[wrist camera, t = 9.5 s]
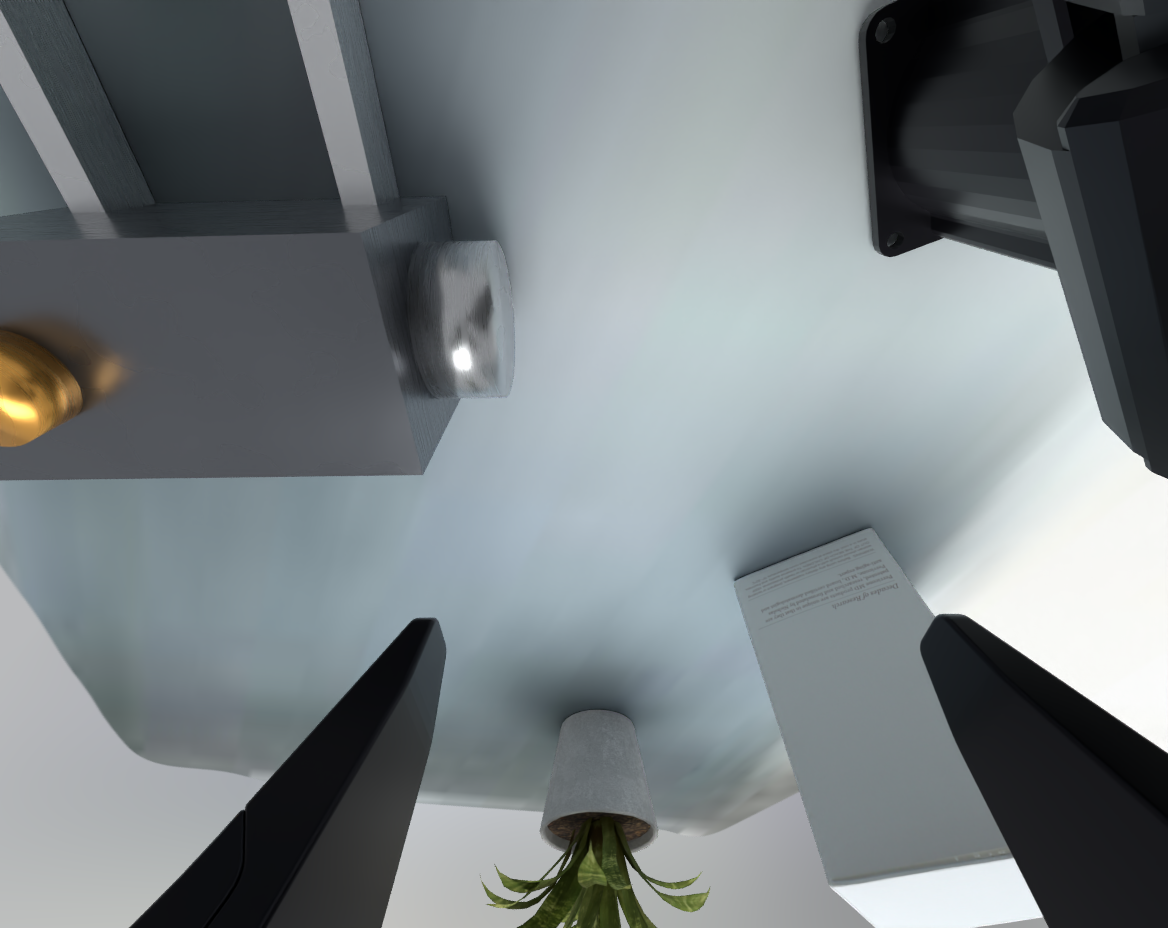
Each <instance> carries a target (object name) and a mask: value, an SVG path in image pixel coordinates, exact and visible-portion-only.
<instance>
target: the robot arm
mask: <svg viewBox="0 0 1168 928" xmlns="http://www.w3.org/2000/svg"><path fill="white" fill-rule="evenodd" d="M882 20H883V21H885V22H886V23H887V25H888V33H887V36H886V38H885V39H884V41H883V42H882V43H880V42H878V41H877V40H876V37H875V33H876V28H877V26H878V25H879V23H880V22H881V21H882ZM859 54H860V68H861V82H862V96H863V110H864V124H865V138H866V152H867V166H868V180H869V194H870V208H871V222H872V235H873V246H874V249H875V250H876V251H877V252H878V253H879V254H881V255H884V256H888V257H893V256H897V255H900V254H903V253H905V252H908V251H910V250H913V249H916V248H918V247H921V246H924V245H926V244H929V243H932V242H934V241H937V240H940V239H942V238H946V239H950V240H953V241H957V242H960V243H964V244H967V245H970V246H974V247H977V248H981V249H984V250H988V251H991V252H994V253H998V254H1001V255H1005V256H1008V257H1012V258H1015V259H1019V260H1022V261H1025V262H1029V263H1032V264H1036V265H1039V266H1043V267H1046V268H1049V269H1053V270H1056V271H1058V275H1059V278H1060V281H1061V285H1062V288H1063V291H1064V295H1065V298H1066V301H1067V304H1068V308H1069V311H1070V314H1071V318H1072V321H1073V324H1074V328H1075V331H1076V334H1077V338H1078V341H1079V344H1080V348H1081V351H1082V354H1083V358H1084V361H1085V364H1086V367H1087V371H1088V374H1089V377H1090V381H1091V384H1092V387H1093V391H1094V394H1095V397H1096V401H1097V404H1098V407H1099V411H1100V414H1101V417H1102V420H1103V422H1104V423H1105V424H1106V425H1107V426H1108V427H1109V428H1110V429H1111V430H1112V431H1113V432H1114V433H1115V434H1116V435H1117V436H1118V437H1119V438H1120V439H1121V440H1122V441H1123V442H1124V443H1125V444H1126V445H1127V446H1128V447H1129V448H1130V449H1131V450H1132V451H1133V452H1135V453H1137V454H1138V455H1140V456H1142V457H1143V458H1144V462H1145V466H1146V467H1147V468H1148V469H1149V470H1150V471H1151V472H1153V473H1155V474H1158V475H1160V476H1162V477H1165V478H1167V479H1168V0H896V1H894V2H892V3H890V4H888V5H886V6H884V7H882V8H880V9H878V10H876V11H875V12H873V13H872V14H871V15H869V17H868V18H867V19H866V21H865V22H864V23H863V26H862V28H861V31H860V33H859ZM895 232H897V235H898V236H897V240H896V241H895V243H894V244H892V245H891V246H888V245H887V241H888V238H889V237H890V236H891V235H892V234H893V233H895ZM920 652H921V656H922V659H923V662H924V664H925V667H926V669H927V672H928V674H929V677H930V679H931V682H932V685H933V687H934V690H935V692H936V695H937V697H938V700H939V703H940V705H941V708H942V710H943V713H944V715H945V718H946V720H947V723H948V726H949V728H950V730H951V733H952V735H953V737H954V740H955V742H956V744H957V746H958V748H959V750H960V753H961V755H962V757H963V759H964V761H965V763H966V765H967V767H968V769H969V771H970V773H971V775H972V777H973V778H974V780H975V782H976V784H977V786H978V788H979V790H980V792H981V794H982V796H983V798H984V800H985V802H986V804H987V806H988V808H989V810H990V812H991V814H992V816H993V818H994V820H995V822H996V824H997V826H998V828H999V830H1000V832H1001V834H1002V836H1003V838H1004V840H1005V842H1006V844H1007V846H1008V848H1009V850H1010V852H1011V854H1012V856H1013V858H1014V860H1015V862H1016V864H1017V866H1018V868H1019V870H1020V872H1021V874H1022V876H1023V878H1024V880H1025V882H1026V884H1027V886H1028V888H1029V890H1030V892H1031V893H1032V895H1033V897H1034V899H1035V901H1036V903H1037V905H1038V907H1039V909H1040V911H1041V913H1042V915H1043V917H1044V919H1045V921H1046V923H1047V925H1048V927H1049V928H1168V753H1167V752H1165V751H1164V750H1162V749H1161V748H1159V747H1158V746H1157V745H1155V744H1154V743H1152V742H1151V741H1149V740H1148V739H1146V738H1145V737H1143V736H1142V735H1140V734H1139V733H1138V732H1136V731H1135V730H1133V729H1132V728H1130V727H1129V726H1127V725H1126V724H1124V723H1123V722H1121V721H1120V720H1118V719H1117V718H1116V717H1114V716H1113V715H1111V714H1110V713H1108V712H1107V711H1105V710H1104V709H1102V708H1101V707H1099V706H1098V705H1097V704H1095V703H1094V702H1092V701H1091V700H1089V699H1088V698H1086V697H1085V696H1083V695H1082V694H1080V693H1079V692H1077V691H1076V690H1075V689H1073V688H1072V687H1070V686H1069V685H1067V684H1066V683H1064V682H1063V681H1061V680H1060V679H1058V678H1057V677H1055V676H1054V675H1053V674H1051V673H1050V672H1048V671H1047V670H1045V669H1044V668H1042V667H1041V666H1039V665H1038V664H1036V663H1035V662H1034V661H1032V660H1031V659H1029V658H1028V657H1026V656H1025V655H1023V654H1022V653H1020V652H1019V651H1017V650H1016V649H1014V648H1013V647H1012V646H1010V645H1009V644H1007V643H1006V642H1004V641H1003V640H1001V639H1000V638H998V637H997V636H995V635H994V634H993V633H991V632H990V631H988V630H987V629H985V628H984V627H982V626H981V625H979V624H978V623H976V622H975V621H973V620H972V619H970V618H969V617H967V616H965V615H962V614H939V615H937V616H936V617H935V618H934V619H933V621H932V623H931V624H930V626H929V628H928V629H927V631H926V633H925V635H924V636H923V638H922V640H921V642H920ZM445 659H446V644H445V641H444V637H443V634H442V631H441V627H440V624H439V621H438V620H437V619H436V618H415V619H414V620H412V621H411V622H410V623H409V624H408V625H407V626H406V628H405V629H404V630H403V631H402V632H401V633H400V634H399V635H398V636H397V638H396V639H395V640H394V641H393V642H392V643H391V644H390V645H389V646H388V648H387V649H386V650H385V651H384V652H383V653H382V654H381V655H380V656H379V658H378V659H377V660H376V661H375V662H374V663H373V664H372V665H371V666H370V668H369V669H368V670H367V671H366V672H365V673H364V674H363V675H362V676H361V678H360V679H359V680H358V681H357V682H356V683H355V684H354V685H353V686H352V688H351V689H350V690H349V691H348V692H347V693H346V694H345V695H344V696H343V698H342V699H341V700H340V701H339V702H338V703H337V704H336V705H335V706H334V708H333V709H332V710H331V711H330V712H329V713H328V714H327V715H326V716H325V718H324V719H323V720H322V721H321V722H320V723H319V724H318V725H317V726H316V728H315V729H314V730H313V731H312V732H311V733H310V734H309V735H308V736H307V738H306V739H305V740H304V741H303V742H302V743H301V744H300V745H299V747H298V748H297V749H296V750H295V751H294V752H293V753H292V754H291V755H290V757H289V758H288V759H287V760H286V761H285V762H284V763H283V764H282V765H281V767H280V768H279V769H278V770H277V771H276V772H275V773H274V774H273V775H272V777H271V778H270V779H269V780H268V781H267V782H266V783H265V784H264V785H263V787H262V788H261V789H260V790H259V791H258V792H257V793H256V794H255V795H254V797H253V798H252V799H251V800H250V801H249V802H248V803H247V804H246V807H245V810H241V811H240V812H239V813H238V814H237V815H236V816H235V818H234V819H233V820H232V821H231V822H230V823H229V824H228V825H227V826H226V828H225V829H224V830H223V831H222V832H221V833H220V834H219V835H218V836H217V837H216V838H215V840H214V841H213V842H212V843H211V844H210V845H209V846H208V847H207V848H206V849H205V850H204V851H203V852H202V853H201V855H200V856H199V857H198V858H197V859H196V860H195V861H194V862H193V863H192V864H191V865H190V866H189V868H188V869H187V870H186V871H185V872H184V873H183V874H182V875H181V876H180V877H179V878H178V879H177V880H176V881H175V882H174V883H173V884H172V885H171V886H170V887H169V888H168V889H167V890H166V891H165V892H164V893H163V894H162V895H161V896H160V897H159V898H158V899H157V900H156V901H155V902H154V903H153V904H152V905H151V906H150V907H149V909H147V910H146V911H145V912H144V914H143V915H141V916H140V917H139V918H138V919H137V920H136V921H135V923H134V924H132V925H131V926H130V927H129V928H381V927H382V923H383V920H384V916H385V913H386V909H387V905H388V902H389V898H390V894H391V891H392V887H393V883H394V880H395V876H396V872H397V869H398V865H399V861H400V858H401V854H402V850H403V847H404V843H405V839H406V835H407V832H408V829H409V825H410V821H411V817H412V814H413V810H414V806H415V803H416V799H417V796H418V792H419V788H420V785H421V781H422V777H423V774H424V770H425V766H426V763H427V759H428V755H429V751H430V747H431V743H432V738H433V732H434V727H435V721H436V714H437V708H438V702H439V696H440V690H441V684H442V678H443V672H444V665H445Z"/></svg>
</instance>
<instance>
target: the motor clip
mask: <svg viewBox="0 0 1168 928" xmlns="http://www.w3.org/2000/svg"><path fill="white" fill-rule="evenodd" d="M287 1H288V5H289V8H290V12H291V16H292V20H293V23H294V27H295V31H296V34H297V38H298V42H299V46H300V49H301V53H302V57H303V60H304V64H305V68H306V72H307V75H308V79H309V83H310V86H311V90H312V94H313V98H314V101H315V105H316V109H317V112H318V116H319V120H320V124H321V127H322V131H323V135H324V138H325V142H326V146H327V150H328V153H329V157H330V161H331V164H332V168H333V172H334V176H335V179H336V183H337V187H338V190H339V194H340V198H341V199H315V200H276V201H237V202H198V203H159V204H156V203H155V200H154V198H153V196H152V194H151V192H150V190H149V187H148V185H147V183H146V181H145V179H144V177H143V174H142V172H141V170H140V168H139V166H138V164H137V161H136V159H135V157H134V155H133V153H132V151H131V148H130V146H129V144H128V142H127V140H126V137H125V135H124V133H123V131H122V129H121V127H120V124H119V122H118V120H117V118H116V116H115V114H114V111H113V109H112V107H111V105H110V103H109V101H108V98H107V96H106V94H105V92H104V90H103V88H102V85H101V83H100V81H99V79H98V77H97V75H96V72H95V70H94V68H93V66H92V64H91V62H90V59H89V57H88V55H87V53H86V51H85V48H84V46H83V44H82V42H81V40H80V38H79V35H78V33H77V31H76V29H75V27H74V25H73V22H72V20H71V18H70V16H69V14H68V12H67V9H66V7H65V5H64V3H63V1H62V0H0V84H1V86H2V88H3V89H4V91H5V93H6V95H7V97H8V98H9V100H10V102H11V104H12V106H13V108H14V109H15V111H16V113H17V115H18V117H19V118H20V120H21V122H22V124H23V126H24V127H25V129H26V131H27V133H28V135H29V136H30V138H31V140H32V142H33V144H34V146H35V147H36V149H37V151H38V153H39V155H40V156H41V158H42V160H43V162H44V164H45V165H46V167H47V169H48V171H49V173H50V174H51V176H52V178H53V180H54V182H55V184H56V185H57V187H58V189H59V191H60V193H61V194H62V196H63V198H64V200H65V202H66V203H67V205H68V207H67V208H59V209H52V210H45V211H38V212H31V213H23V214H16V215H9V216H2V217H0V480H65V479H142V478H220V477H297V476H375V475H423V474H424V472H425V470H426V468H427V465H428V463H429V461H430V459H431V457H432V455H433V453H434V451H435V449H436V447H437V445H438V443H439V441H440V439H441V437H442V435H443V433H444V431H445V429H446V427H447V425H448V423H449V421H450V419H451V417H452V415H453V413H454V411H455V409H456V407H457V405H458V403H459V400H460V398H504V397H508V395H509V394H510V391H511V387H512V382H513V375H514V363H515V328H514V312H513V301H512V292H511V285H510V279H509V273H508V268H507V264H506V260H505V256H504V253H503V250H502V248H501V246H500V244H499V242H498V241H495V240H492V241H453V237H452V231H451V225H450V218H449V212H448V206H447V200H446V196H432V197H399V192H398V187H397V182H396V178H395V173H394V168H393V163H392V159H391V154H390V149H389V144H388V139H387V135H386V130H385V125H384V120H383V115H382V111H381V106H380V101H379V96H378V91H377V87H376V82H375V77H374V72H373V68H372V63H371V58H370V53H369V48H368V44H367V39H366V34H365V29H364V24H363V20H362V15H361V10H360V5H359V1H358V0H287Z"/></svg>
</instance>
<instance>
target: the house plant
mask: <svg viewBox="0 0 1168 928" xmlns="http://www.w3.org/2000/svg"><path fill="white" fill-rule="evenodd" d="M540 834H541V837H542V839H543V840H544V841H545V843H546V844H547V845H549V846H551V847H553V848H554V849H557V850H559V851H563V852H565V853H564V854H563V855H562V856H561V857H560V859H559V860H558V861H557V862H556V863H555V864H554V865H553V867H552V868H551V869H550V870H549V871H548V872H547V873H546V874H545V875H544V876H543V877H542V878H541V879H540V880H539V881H525V880H517V879H510V878H509V877H507V876H505V875H504V874H502V873H500V872H499V870H498V869H497V867H496V866H495V867H496V869H497V872H498V874H499V877H500V879H501V881H502V883H503V885H504V887H506V888H508V889H509V890H511V891H514V892H519V893H527V892H528V893H527V894H526V895H525V896H524V897H523V898H525V897H526V896H527V895H529V894H530V893H531V892H533V891H536V890H540V889H542V888H545V887H547V886H549V887H548V888H547V889H546V890H545V891H544V892H543V893H542V894H541V895H539V896H538V897H536V898H534V899H532V900H530V901H528V902H518V901H520V900H522V899H523V898H522V899H520V900H518V901H517V902H516V901H510V900H506V899H503V898H501V897H498V896H496V895H495V894H493V893H492V892H490V891H489V890H488V889H487V888H486V886H485V885H484V884H483V882H482V884H483V886H484V889H485V891H486V893H487V895H488V897H489V898H490V899H491V900H492V901H493V902H494V903H496V904H487V905H490V906H494V907H497V908H507V909H525V908H528V907H530V906H532V905H534V904H537V903H538V902H539V901H540V900H541V899H542V898H543V897H544V896H546V895H547V894H548V893H549V892H550V891H551V890H552V891H551V892H550V894H549V895H548V896H547V898H546V899H545V901H544V902H543V904H542V905H541V907H540V908H539V910H538V911H537V912H536V914H535V915H534V916H533V917H532V918H530V919H529V920H528V921H527V922H525V923H524V924H523V925H521V926H519V927H517V928H556V927H557V926H558V925H559V924H560V923H561V922H565V925H564V927H563V928H621V924H620V917H619V910H618V901H617V897H618V899H619V903H620V905H621V908H622V910H623V913H624V915H625V917H626V920H627V922H628V924H629V926H630V928H657V927H656V926H655V925H654V924H653V923H652V922H651V921H650V920H649V918H648V917H647V916H646V915H645V914H644V912H643V910H642V908H641V906H640V904H639V903H638V900H637V899H636V897H635V894H634V892H633V889H632V886H631V882H630V878H629V875H628V871H627V866H626V861H625V857H626V859H627V860H628V861H629V863H630V864H631V866H632V868H634V869H635V870H636V871H637V872H638V873H639V875H640V876H641V877H642V878H643V879H644V880H645V881H646V882H647V883H648V885H649V886H650V887H651V888H652V889H654V891H655V892H656V893H657V894H658V895H659V896H660V897H661V898H662V899H663V900H664V901H666V902H668V903H669V904H671V905H672V906H674V907H676V908H678V909H680V910H683V911H688V912H693V911H697V910H698V909H700V908H701V907H702V906H703V905H704V903H705V900H706V899H707V897H708V894H709V890H710V888H709V890H708V892H707V893H700V894H692V895H686V896H670V895H666V894H663V893H660V892H658V891H657V890H656V889H655V888H654V887H653V886H652V885H651V884H650V883H649V882H648V881H647V880H646V879H648V880H649V881H650V882H652V883H655V884H657V885H660V886H663V887H666V888H671V889H680V888H684V887H687V886H689V885H691V884H692V883H693V882H694V881H695V880H696V879H697V878H698V877H699V876H700V875H699V876H698V877H696V878H693V879H690V880H687V881H681V882H676V883H666V882H661V881H658V880H655V879H653V878H650V877H648V876H646V875H645V874H644V873H643V872H642V871H641V869H640V868H639V866H638V864H637V863H636V861H635V859H634V857H633V856H632V854H631V853H635V852H638V851H640V850H643V849H645V848H647V847H648V846H650V845H651V844H653V843H654V841H655V840H656V839H657V837H658V827H657V822H656V818H655V814H654V810H653V805H652V801H651V797H650V792H649V788H648V784H647V779H646V775H645V771H644V766H643V762H642V758H641V753H640V749H639V745H638V740H637V736H636V732H635V727H634V725H633V723H632V721H631V720H630V719H628V718H627V717H626V716H624V715H622V714H620V713H617V712H613V711H608V710H587V711H582V712H579V713H576V714H573V715H571V716H570V717H568V718H567V719H566V720H565V721H564V722H563V724H562V726H561V730H560V735H559V740H558V745H557V750H556V755H555V760H554V764H553V769H552V774H551V779H550V784H549V789H548V794H547V798H546V803H545V808H544V814H543V818H542V823H541V828H540ZM571 854H573V855H572V858H571V861H570V863H569V864H568V866H567V867H566V868H565V869H564V870H563V868H564V866H565V864H566V862H567V861H568V859H569V857H570V855H571ZM565 855H566V856H565ZM624 855H625V857H624ZM564 856H565V858H564V861H563V863H562V865H561V867H560V870H559V872H558V874H557V876H556V877H554V878H551V879H548V880H543V879H544V878H545V876H547V875H548V873H549V872H550V871H551V870H552V869H553V868H554V867H555V866H556V865H557V864H558V863H559V862H560V861H561V859H562V858H563V857H564ZM562 870H563V871H562ZM560 877H561V878H560ZM559 878H560V879H559ZM558 879H559V881H558V882H557V880H558ZM556 882H557V884H556ZM576 920H578V921H577V924H576V925H574V926H573V927H571V926H572V924H573V922H574V921H576Z"/></svg>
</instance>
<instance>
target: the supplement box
mask: <svg viewBox="0 0 1168 928" xmlns="http://www.w3.org/2000/svg"><path fill="white" fill-rule="evenodd" d="M734 588H735V591H736V595H737V598H738V601H739V604H740V607H741V611H742V614H743V617H744V620H745V623H746V627H747V629H748V633H749V636H750V639H751V642H752V645H753V648H754V651H755V654H756V657H757V661H758V664H759V667H760V670H761V673H762V676H763V680H764V683H765V686H766V689H767V692H768V695H769V698H770V701H771V704H772V707H773V710H774V713H775V716H776V720H777V723H778V726H779V729H780V732H781V735H782V738H783V741H784V744H785V747H786V751H787V754H788V757H789V760H790V763H791V766H792V769H793V772H794V776H795V779H796V782H797V785H798V788H799V791H800V794H801V797H802V801H803V804H804V807H805V810H806V813H807V816H808V820H809V823H810V826H811V829H812V832H813V835H814V839H815V842H816V845H817V848H818V851H819V854H820V857H821V860H822V863H823V867H824V870H825V874H826V877H827V881H828V884H829V886H830V887H831V888H832V889H833V890H834V891H835V892H836V893H837V894H839V895H840V896H841V897H842V898H843V899H844V900H846V901H847V902H848V903H849V904H850V905H851V906H852V907H853V908H854V909H855V910H856V911H858V912H859V913H860V914H861V915H862V916H863V917H864V918H865V919H866V920H867V921H869V922H870V923H871V924H872V925H873V926H874V927H875V928H974V927H980V926H988V925H994V924H1001V923H1008V922H1015V921H1021V920H1027V919H1034V918H1041V917H1043V915H1042V913H1041V911H1040V909H1039V907H1038V905H1037V903H1036V901H1035V899H1034V897H1033V895H1032V893H1031V892H1030V890H1029V888H1028V886H1027V884H1026V882H1025V880H1024V878H1023V876H1022V874H1021V872H1020V870H1019V868H1018V866H1017V864H1016V862H1015V860H1014V858H1013V856H1012V854H1011V852H1010V850H1009V848H1008V846H1007V844H1006V842H1005V840H1004V838H1003V836H1002V834H1001V832H1000V830H999V828H998V826H997V824H996V822H995V820H994V818H993V816H992V814H991V812H990V810H989V808H988V806H987V804H986V802H985V800H984V798H983V796H982V794H981V792H980V790H979V788H978V786H977V784H976V782H975V780H974V778H973V777H972V775H971V773H970V771H969V769H968V767H967V765H966V763H965V761H964V759H963V757H962V755H961V753H960V750H959V748H958V746H957V744H956V742H955V740H954V737H953V735H952V733H951V730H950V728H949V726H948V723H947V720H946V718H945V715H944V713H943V710H942V708H941V705H940V703H939V700H938V697H937V695H936V692H935V690H934V687H933V685H932V682H931V679H930V677H929V674H928V672H927V669H926V667H925V664H924V662H923V659H922V656H921V652H920V642H921V640H922V638H923V636H924V635H925V633H926V631H927V629H928V628H929V626H930V624H931V623H932V621H933V619H934V618H935V616H934V615H933V613H932V612H931V611H930V609H929V608H928V606H927V605H926V604H925V602H924V601H923V599H922V598H921V597H920V595H919V594H918V592H917V591H916V590H915V588H914V587H913V585H912V584H911V582H910V581H909V580H908V578H907V577H906V575H905V574H904V572H903V571H902V570H901V568H900V567H899V565H898V564H897V562H896V561H895V559H894V558H893V557H892V555H891V554H890V553H889V551H888V550H887V548H886V547H885V545H884V544H883V543H882V541H881V540H880V538H879V537H878V535H877V534H876V532H875V530H874V529H873V528H868V529H865V530H862V531H859V532H857V533H854V534H852V535H849V536H846V537H843V538H841V539H838V540H836V541H833V542H831V543H828V544H826V545H823V546H820V547H818V548H815V549H812V550H810V551H808V552H805V553H803V554H800V555H797V556H794V557H792V558H789V559H787V560H784V561H782V562H779V563H777V564H774V565H772V566H769V567H767V568H764V569H762V570H759V571H757V572H754V573H751V574H749V575H746V576H744V577H742V578H740V579H738V580H736V581H735V582H734Z"/></svg>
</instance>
